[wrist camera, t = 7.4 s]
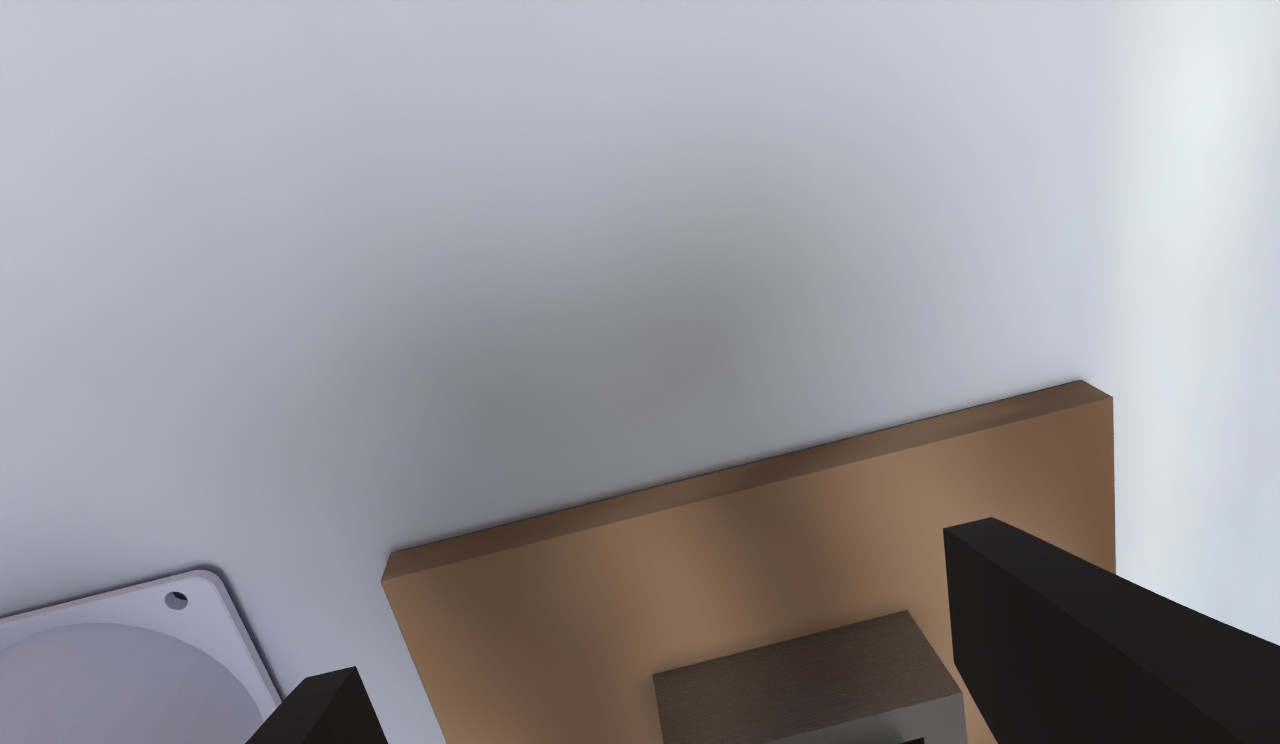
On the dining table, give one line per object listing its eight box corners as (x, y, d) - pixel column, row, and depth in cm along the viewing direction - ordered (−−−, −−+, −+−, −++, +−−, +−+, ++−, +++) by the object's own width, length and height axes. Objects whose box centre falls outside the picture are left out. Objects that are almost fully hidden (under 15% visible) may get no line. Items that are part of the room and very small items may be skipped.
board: (555, 967, 25) (555, 1008, 24) (390, 553, 20) (380, 581, 19) (1095, 828, 26) (1120, 861, 25) (1081, 379, 20) (1113, 397, 19)
